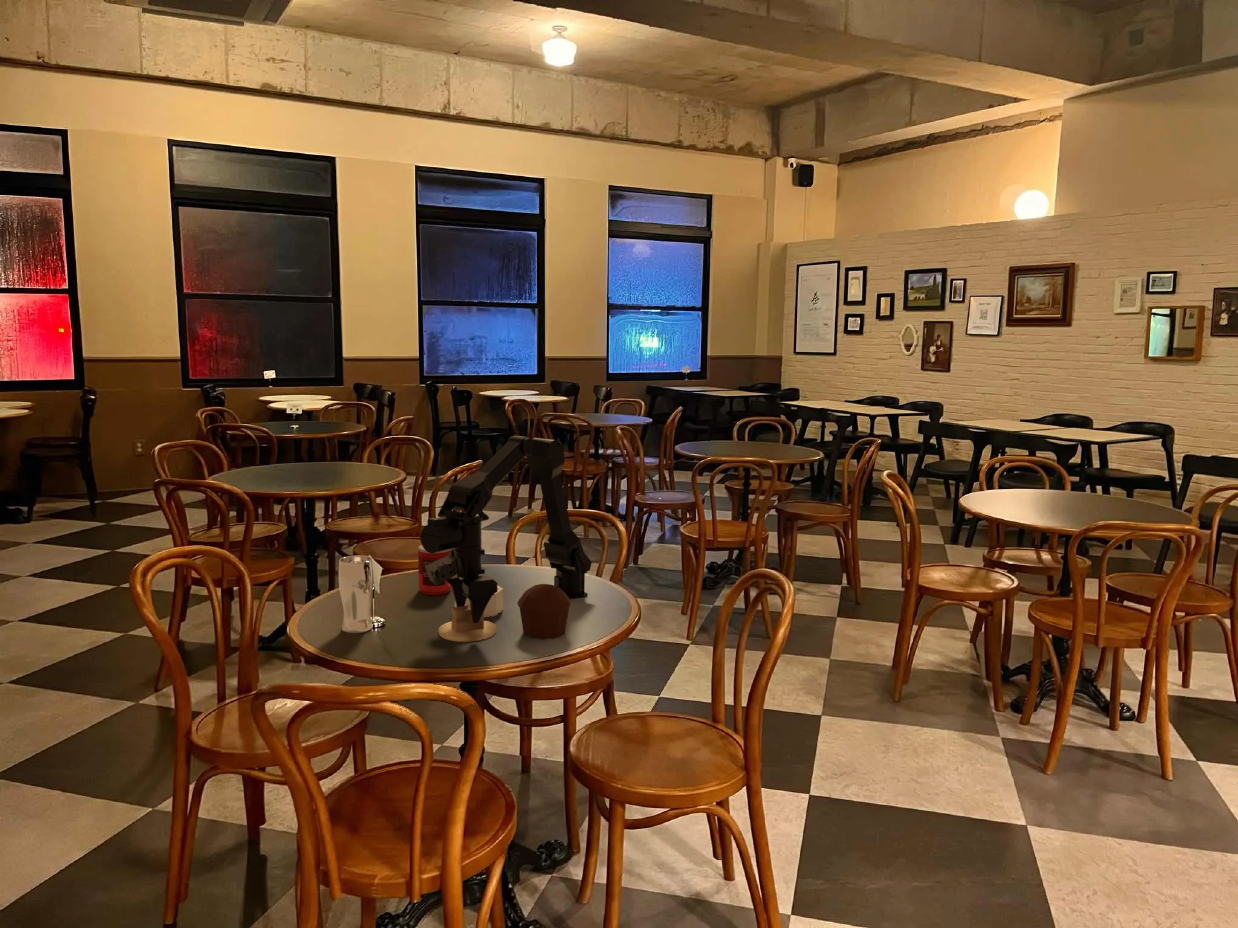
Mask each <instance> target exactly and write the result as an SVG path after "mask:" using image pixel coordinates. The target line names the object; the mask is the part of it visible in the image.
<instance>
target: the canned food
mask: <svg viewBox="0 0 1238 928" xmlns="http://www.w3.org/2000/svg"><path fill="white" fill-rule="evenodd" d="M417 549H418V550H417V551H418V553H417V555H418V556H417V558H418V561H417V563H418V565H417V566H418V590H419V593H420V594H423V595H428V596H441V595H445V594H448V593H449V592H451V590H452V588H451V585H450V584H449V583H448V582H447V581H443V583H441V584H438V585H435V584H434V583H433V582H432V581H430V578H429V576H428V573H427V571H426V568H425V567H426V566H427V565H428V564H430V563H433V562H435V561H437V560H439V559H441V558H444V557H446V556H449V549H448V550H444V551H440V552H436V553H429V552H427V551H426V550H425V549H424V548H423V546H422V544H420V545H419V546H418V548H417Z"/></svg>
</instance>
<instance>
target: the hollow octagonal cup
mask: <svg viewBox="0 0 1238 928" xmlns="http://www.w3.org/2000/svg"><path fill="white" fill-rule="evenodd" d="M454 600H455V598H454ZM467 605H470V601H469V599H468V598H467V599H466V602H465V606H467ZM454 607H457V606H456V602H455V601H454ZM502 610H503V611H504V588H502V587H501V586H499V585H498V584H497V592H496V593H495V594H494V595H493V596H492V597H491V599H490V601H489V602H488V604H487V606H486V608H485V610H484V618H489V617H490V616H491V617H496V616H498V615H499V614H500V613H502V612H503V611H502ZM498 613H499V614H498Z"/></svg>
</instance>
